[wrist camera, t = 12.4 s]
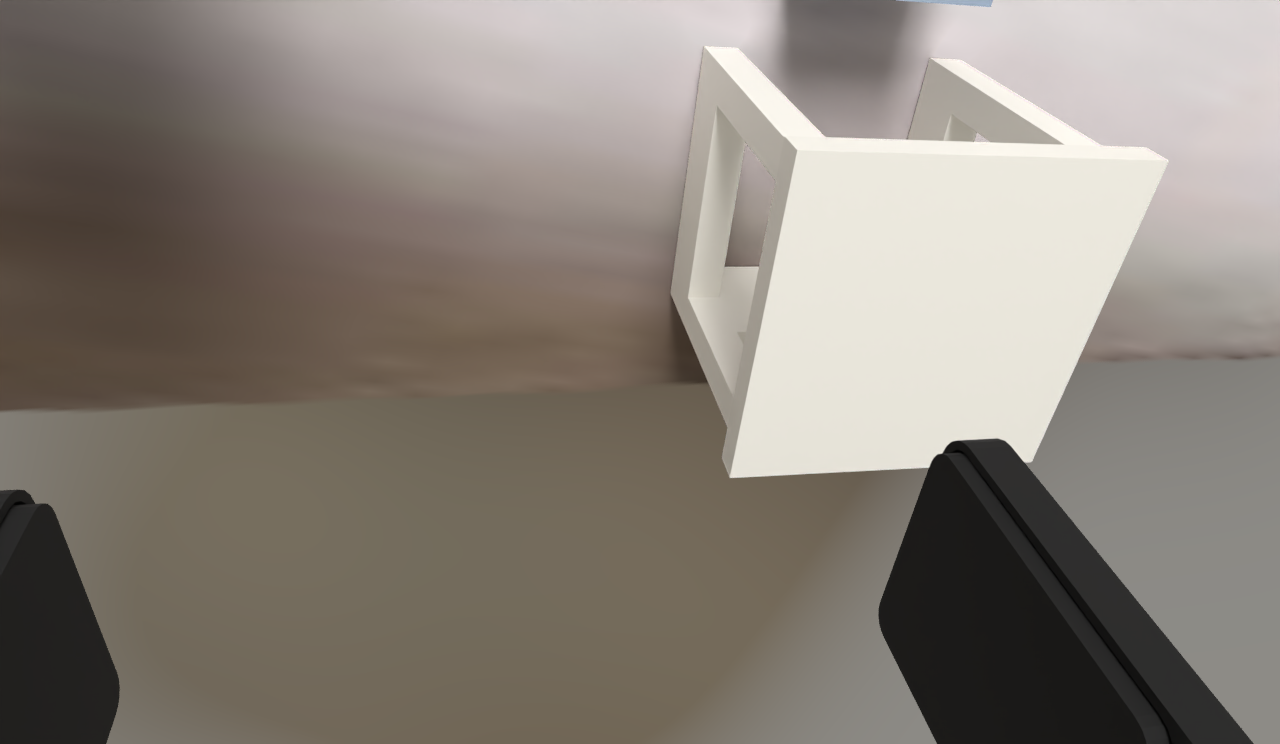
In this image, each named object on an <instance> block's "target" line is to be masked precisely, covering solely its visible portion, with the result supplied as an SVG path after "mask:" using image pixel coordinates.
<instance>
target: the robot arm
mask: <svg viewBox="0 0 1280 744" xmlns="http://www.w3.org/2000/svg"><path fill="white" fill-rule="evenodd" d="M879 624H880V628H881V631H882V634H883V636H884V638H885V640H886V642H887V644H888V646H889V648H890V650H891V652H892V654H893V656H894V658H895V660H896V662H897V664H898V666H899V668H900V670H901V672H902V674H903V676H904V678H905V680H906V682H907V684H908V686H909V688H910V690H911V692H912V694H913V696H914V698H915V700H916V702H917V704H918V706H919V708H920V710H921V712H922V714H923V716H924V718H925V720H926V722H927V724H928V726H929V728H930V730H931V732H932V734H933V736H934V738H935V740H936V742H937V744H1253V742H1252V741H1251V740H1250V739H1249V738H1248V736H1247V735H1246V734H1245V733H1244V731H1243V730H1242V729H1241V728H1240V726H1239V725H1238V724H1237V723H1236V722H1235V721H1234V719H1233V718H1232V717H1231V715H1230V714H1229V713H1228V712H1227V711H1226V709H1225V708H1224V707H1223V706H1222V704H1221V703H1220V702H1219V701H1218V699H1217V698H1216V697H1215V696H1214V695H1213V694H1212V692H1211V691H1210V690H1209V689H1208V687H1207V686H1206V685H1205V684H1204V682H1203V681H1202V680H1201V679H1200V677H1199V676H1198V675H1197V674H1196V672H1195V671H1194V670H1193V669H1192V668H1191V666H1190V665H1189V664H1188V663H1187V662H1186V660H1185V659H1184V658H1183V657H1182V655H1181V654H1180V653H1179V652H1178V651H1177V649H1176V648H1175V647H1174V646H1173V644H1172V643H1171V642H1170V641H1169V639H1168V638H1167V637H1166V636H1165V635H1164V633H1163V632H1162V631H1161V630H1160V629H1159V627H1158V626H1157V625H1156V623H1155V622H1154V621H1153V620H1152V619H1151V617H1150V616H1149V615H1148V614H1147V612H1146V611H1145V610H1144V609H1143V607H1142V606H1141V605H1140V604H1139V603H1138V601H1137V600H1136V599H1135V598H1134V596H1133V595H1132V594H1131V593H1130V592H1129V590H1128V589H1127V588H1126V587H1125V585H1124V584H1123V583H1122V582H1121V581H1120V579H1119V578H1118V577H1117V576H1116V574H1115V573H1114V572H1113V571H1112V569H1111V568H1110V567H1109V566H1108V565H1107V563H1106V562H1105V561H1104V560H1103V559H1102V557H1101V556H1100V555H1099V554H1098V553H1097V551H1096V550H1095V549H1094V548H1093V546H1092V545H1091V544H1090V543H1089V541H1088V540H1087V539H1086V538H1085V536H1084V535H1083V534H1082V533H1081V532H1080V530H1079V529H1078V528H1077V527H1076V525H1075V524H1074V523H1073V522H1072V520H1071V519H1070V518H1069V517H1068V516H1067V514H1066V513H1065V512H1064V511H1063V509H1062V508H1061V507H1060V506H1059V505H1058V503H1057V502H1056V501H1055V500H1054V498H1053V497H1052V496H1051V495H1050V494H1049V492H1048V491H1047V490H1046V489H1045V487H1044V486H1043V485H1042V484H1041V483H1040V481H1039V480H1038V479H1037V478H1036V476H1035V475H1034V474H1033V473H1032V471H1031V470H1030V469H1029V468H1028V467H1027V465H1026V464H1025V463H1024V462H1023V460H1022V459H1021V458H1020V457H1019V455H1018V454H1017V453H1016V452H1015V451H1014V449H1013V448H1012V447H1011V446H1010V445H1009V444H1008V443H1007V442H1006V441H1004V440H1001V439H998V438H996V439H977V440H958V441H952V442H951V443H949V444H948V445H947V446H946V448H945V450H944V452H943V453H942V454H937V455H936V456H935V457H934V458H933V460H932V462H931V464H930V467H929V470H928V473H927V476H926V478H925V481H924V484H923V486H922V489H921V492H920V495H919V497H918V500H917V503H916V505H915V508H914V511H913V514H912V517H911V519H910V522H909V525H908V528H907V530H906V533H905V536H904V538H903V541H902V544H901V547H900V550H899V552H898V555H897V558H896V561H895V563H894V566H893V569H892V571H891V574H890V577H889V580H888V582H887V585H886V588H885V591H884V594H883V596H882V599H881V602H880V606H879ZM119 688H120V687H119V678H118V675H117V672H116V669H115V666H114V664H113V662H112V659H111V656H110V653H109V651H108V648H107V646H106V643H105V641H104V638H103V635H102V633H101V631H100V628H99V625H98V623H97V620H96V617H95V615H94V612H93V610H92V607H91V605H90V602H89V599H88V597H87V594H86V592H85V589H84V587H83V584H82V581H81V579H80V576H79V574H78V571H77V568H76V566H75V563H74V561H73V558H72V556H71V554H70V550H69V548H68V545H67V543H66V540H65V538H64V535H63V532H62V530H61V527H60V525H59V522H58V519H57V517H56V514H55V512H54V510H53V509H52V507H51V506H49V505H48V504H35V502H34V501H33V499H32V497H31V495H30V494H28V493H27V492H26V491H25V490H6V491H5V490H4V491H0V744H106V743H107V740H108V736H109V733H110V730H111V727H112V724H113V721H114V718H115V715H116V712H117V707H118V702H119Z"/></svg>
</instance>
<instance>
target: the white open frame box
mask: <svg viewBox="0 0 1280 744" xmlns="http://www.w3.org/2000/svg"><path fill="white" fill-rule="evenodd" d="M977 133H979V134H980V135H981V136H983V137H984V138H986V139H987V140H988V141H990V142H974V140H975V137H976V134H977ZM745 143H747V145H748V146H749V147H750V149H751V150H752V151H753V153H754V154H755V155H756V156H757V158H758V159H759V160H760V162H761V163H762V164H763V165H764V167H765V168H766V169H767V171H768V172H769V173H770V175H771V176H772V177H773V178H774V180H775V181H776V182H775V187H774V193H773V198H772V203H771V208H770V213H769V218H768V223H767V228H766V233H765V238H764V244H763V249H762V254H761V259H760V264H759V267H724V266H725V260H726V254H727V248H728V243H729V237H730V231H731V225H732V219H733V213H734V207H735V202H736V196H737V190H738V184H739V178H740V172H741V167H742V161H743V155H744V149H745ZM1168 162H1169V160H1167V159H1165V158H1163V157H1162V156H1160V155H1158V154H1156V153H1155V152H1153V151H1151V150H1150V149H1148V148H1146V147H1121V146H1101V145H1100V144H1098V143H1097V142H1095V141H1093V140H1092V139H1090V138H1088V137H1087V136H1085V135H1083V134H1082V133H1080V132H1078V131H1077V130H1075V129H1073V128H1072V127H1070V126H1069V125H1067V124H1065V123H1064V122H1062V121H1060V120H1059V119H1057V118H1055V117H1054V116H1052V115H1050V114H1049V113H1047V112H1046V111H1044V110H1042V109H1041V108H1039V107H1037V106H1036V105H1034V104H1032V103H1031V102H1029V101H1027V100H1026V99H1024V98H1023V97H1021V96H1019V95H1018V94H1016V93H1014V92H1013V91H1011V90H1009V89H1008V88H1006V87H1004V86H1003V85H1001V84H999V83H998V82H996V81H995V80H993V79H991V78H990V77H988V76H986V75H985V74H983V73H981V72H980V71H978V70H976V69H975V68H973V67H972V66H970V65H968V64H967V63H965V62H963V61H962V60H958V59H939V58H930V59H929V63H928V67H927V70H926V74H925V78H924V81H923V85H922V88H921V92H920V96H919V99H918V103H917V106H916V110H915V114H914V117H913V121H912V124H911V128H910V132H909V135H908V139H907V140H898V139H866V138H834V137H825V136H824V135H823V134H822V133H821V132H820V131H819V130H818V129H817V128H816V127H815V126H814V125H813V124H812V123H811V122H810V121H809V120H808V119H807V118H806V117H805V116H804V115H803V114H802V113H801V112H800V111H799V110H798V109H797V108H796V107H795V106H794V105H793V104H792V103H791V102H790V101H789V100H788V99H787V98H786V97H785V96H784V95H783V94H782V92H781V91H780V90H779V89H778V88H777V87H776V86H775V85H774V84H773V83H772V82H771V81H770V80H769V79H768V78H767V77H766V76H765V75H764V74H763V73H762V72H761V71H760V70H759V69H758V68H757V67H756V66H755V65H754V64H753V63H752V62H751V61H750V60H749V59H748V58H747V57H746V56H745V55H744V54H743V53H742V52H741V51H740V50H739V49H738V48H730V47H711V46H704V48H703V55H702V63H701V70H700V77H699V85H698V92H697V100H696V107H695V115H694V122H693V129H692V137H691V144H690V152H689V159H688V166H687V174H686V181H685V189H684V196H683V204H682V211H681V218H680V226H679V233H678V241H677V248H676V255H675V263H674V270H673V278H672V285H671V293H670V294H671V296H672V298H673V301H674V303H675V305H676V308H677V310H678V313H679V315H680V317H681V320H682V322H683V324H684V327H685V329H686V331H687V334H688V336H689V338H690V341H691V343H692V345H693V348H694V350H695V353H696V355H697V357H698V360H699V362H700V364H701V367H702V369H703V371H704V374H705V376H706V378H707V381H708V383H709V386H710V388H711V390H712V393H713V395H714V397H715V400H716V402H717V404H718V407H719V409H720V411H721V414H722V416H723V418H724V421H725V423H726V426H727V432H726V437H725V443H724V448H723V453H722V460H723V462H724V465H725V468H726V470H727V473H728V475H729V478H740V477H759V476H779V475H797V474H816V473H833V472H854V471H872V470H891V469H909V468H929V467H930V464H931V462H932V460H933V458H934V457H935V456H936V455H937V454H942V453H943V452H944V450H945V448H946V446H947V445H948V444H949V443H951V442H952V441H958V440H977V439H996V438H998V439H1001V440H1004V441H1006V442H1007V443H1008V444H1009V445H1010V446H1011V447H1012V448H1013V449H1014V451H1015V452H1016V453H1017V454H1018V455H1019V457H1020V458H1021V459H1022V460H1023V462H1032V460H1033V458H1034V455H1035V453H1036V451H1037V449H1038V447H1039V445H1040V442H1041V440H1042V438H1043V436H1044V434H1045V431H1046V429H1047V427H1048V425H1049V422H1050V420H1051V418H1052V416H1053V414H1054V412H1055V410H1056V407H1057V405H1058V403H1059V401H1060V399H1061V396H1062V394H1063V392H1064V390H1065V388H1066V385H1067V383H1068V381H1069V379H1070V377H1071V374H1072V372H1073V370H1074V368H1075V366H1076V364H1077V361H1078V359H1079V357H1080V355H1081V353H1082V350H1083V348H1084V346H1085V344H1086V342H1087V339H1088V337H1089V335H1090V333H1091V331H1092V328H1093V326H1094V324H1095V322H1096V320H1097V317H1098V315H1099V313H1100V311H1101V309H1102V307H1103V304H1104V302H1105V300H1106V298H1107V296H1108V293H1109V291H1110V289H1111V287H1112V285H1113V282H1114V280H1115V278H1116V276H1117V274H1118V271H1119V269H1120V267H1121V265H1122V263H1123V260H1124V258H1125V256H1126V254H1127V252H1128V250H1129V247H1130V245H1131V243H1132V241H1133V239H1134V236H1135V234H1136V232H1137V230H1138V228H1139V225H1140V223H1141V221H1142V219H1143V217H1144V214H1145V212H1146V210H1147V208H1148V206H1149V203H1150V201H1151V199H1152V197H1153V195H1154V193H1155V190H1156V188H1157V186H1158V184H1159V182H1160V179H1161V177H1162V175H1163V173H1164V171H1165V168H1166V166H1167V164H1168Z"/></svg>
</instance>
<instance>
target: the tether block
mask: <svg viewBox="0 0 1280 744" xmlns="http://www.w3.org/2000/svg"><path fill="white" fill-rule="evenodd" d="M898 1H912V2H926V3H941V4H955V5H969V6H984V7H991V4H992V1H993V0H898Z"/></svg>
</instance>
